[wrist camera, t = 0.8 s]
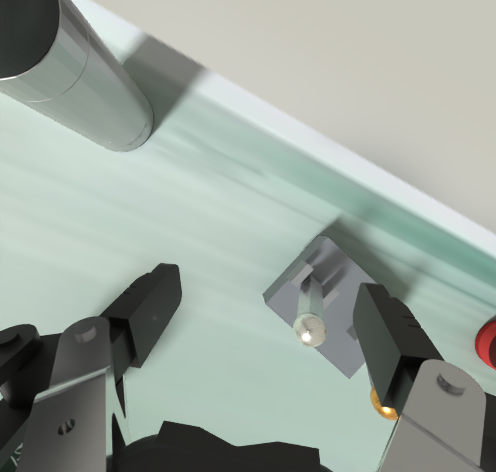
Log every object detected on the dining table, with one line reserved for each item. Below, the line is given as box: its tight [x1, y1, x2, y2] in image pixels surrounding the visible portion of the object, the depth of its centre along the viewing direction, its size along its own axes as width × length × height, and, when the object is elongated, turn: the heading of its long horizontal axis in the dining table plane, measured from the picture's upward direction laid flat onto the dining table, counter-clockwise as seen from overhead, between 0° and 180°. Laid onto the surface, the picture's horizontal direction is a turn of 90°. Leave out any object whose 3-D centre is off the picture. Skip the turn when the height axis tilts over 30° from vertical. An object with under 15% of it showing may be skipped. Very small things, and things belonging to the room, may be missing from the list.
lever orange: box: [367, 367, 398, 420], centre depth 27 cm, size 3×3×10 cm
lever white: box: [293, 274, 327, 347], centre depth 27 cm, size 3×3×10 cm
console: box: [263, 235, 391, 379], centre depth 32 cm, size 17×12×7 cm
